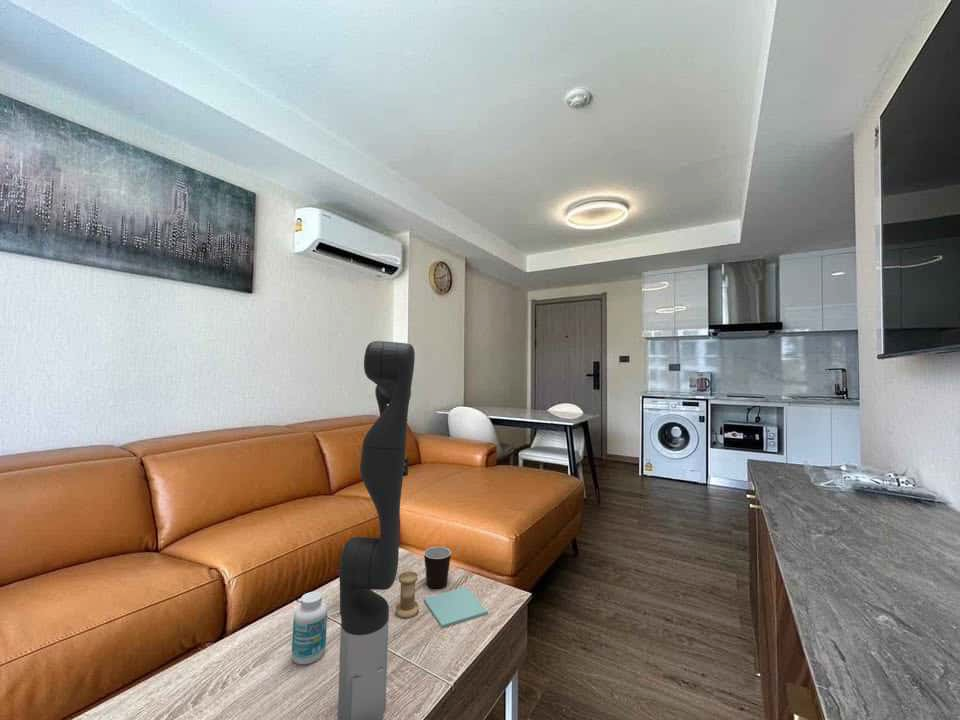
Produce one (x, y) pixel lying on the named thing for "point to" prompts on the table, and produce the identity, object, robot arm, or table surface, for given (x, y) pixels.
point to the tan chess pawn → (407, 596)
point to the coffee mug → (437, 567)
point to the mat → (454, 607)
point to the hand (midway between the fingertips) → (387, 494)
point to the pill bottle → (309, 629)
